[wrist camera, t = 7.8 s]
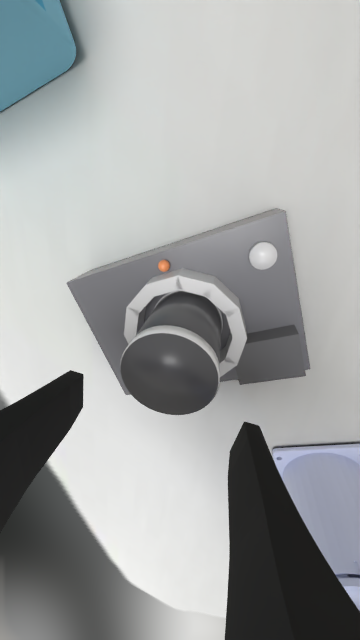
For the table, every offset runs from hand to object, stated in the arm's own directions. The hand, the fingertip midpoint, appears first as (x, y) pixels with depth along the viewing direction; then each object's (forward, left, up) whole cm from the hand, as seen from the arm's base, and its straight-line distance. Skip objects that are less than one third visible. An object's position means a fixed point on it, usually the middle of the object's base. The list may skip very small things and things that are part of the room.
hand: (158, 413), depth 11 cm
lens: (+1, -1, -7) cm, 7 cm away
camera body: (+1, 0, -10) cm, 10 cm away
